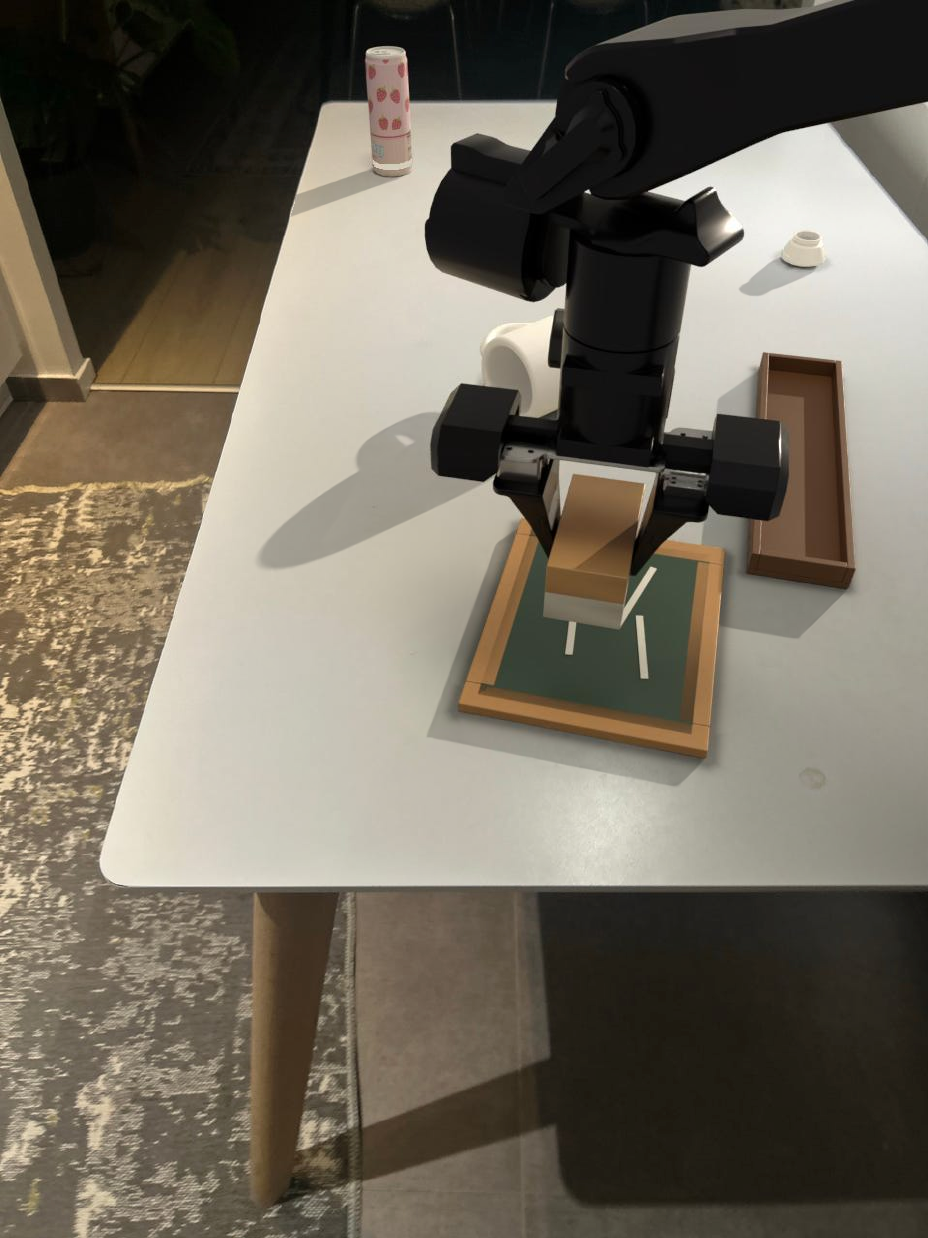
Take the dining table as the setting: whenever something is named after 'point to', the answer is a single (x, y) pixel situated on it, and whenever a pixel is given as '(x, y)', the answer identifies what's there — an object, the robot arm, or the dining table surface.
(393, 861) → the dining table surface
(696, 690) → the chalkboard
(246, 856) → the dining table surface
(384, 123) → the beverage can
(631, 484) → the eraser
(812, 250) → the lidless jar
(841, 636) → the dining table surface
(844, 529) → the chalk tray
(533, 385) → the mug
